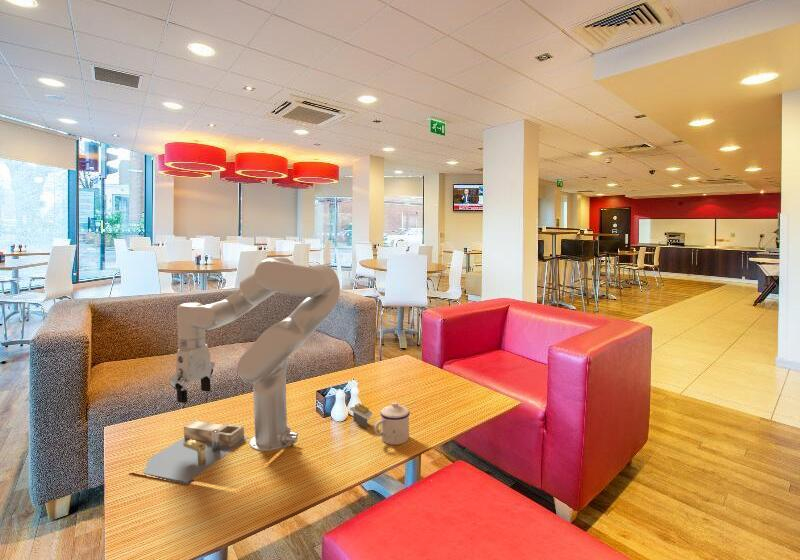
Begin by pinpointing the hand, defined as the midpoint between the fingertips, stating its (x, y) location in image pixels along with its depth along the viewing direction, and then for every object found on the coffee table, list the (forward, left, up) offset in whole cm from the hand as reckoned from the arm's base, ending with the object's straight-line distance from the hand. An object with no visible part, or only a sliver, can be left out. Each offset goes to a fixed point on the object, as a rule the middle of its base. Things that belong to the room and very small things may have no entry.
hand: (194, 396), depth 129 cm
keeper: (-11, +12, -13) cm, 21 cm away
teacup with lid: (-60, -16, -14) cm, 63 cm away
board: (-7, +9, -14) cm, 18 cm away
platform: (-47, -24, -14) cm, 54 cm away
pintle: (-12, +6, -14) cm, 19 cm away
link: (-6, 0, -13) cm, 14 cm away
